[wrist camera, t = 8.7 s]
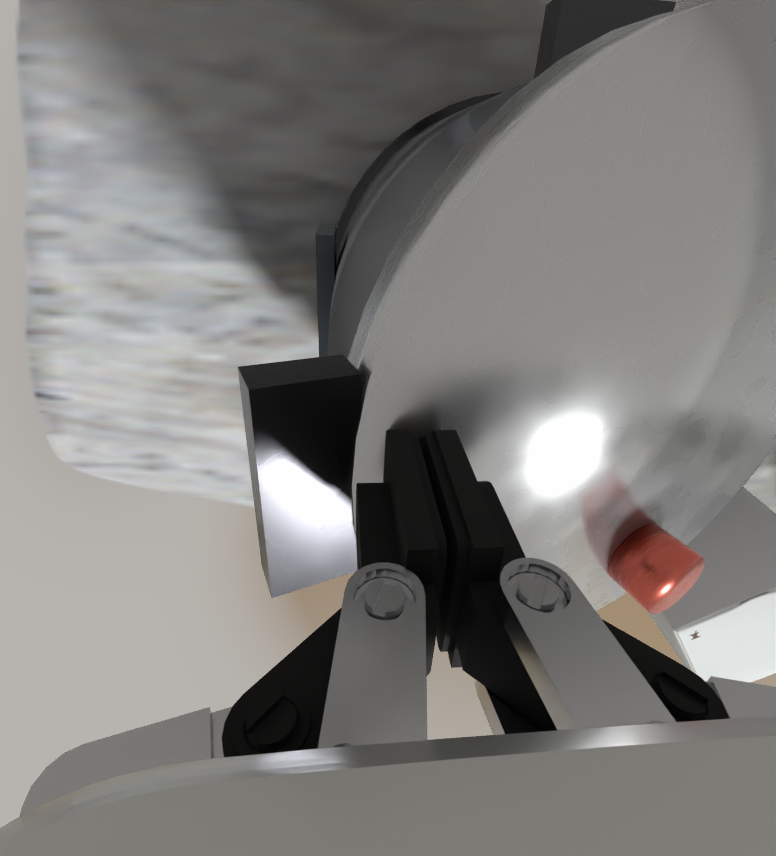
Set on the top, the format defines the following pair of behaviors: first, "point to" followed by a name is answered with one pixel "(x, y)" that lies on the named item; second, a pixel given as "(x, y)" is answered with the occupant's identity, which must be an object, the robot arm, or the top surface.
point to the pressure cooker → (432, 171)
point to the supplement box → (729, 597)
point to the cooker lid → (564, 320)
